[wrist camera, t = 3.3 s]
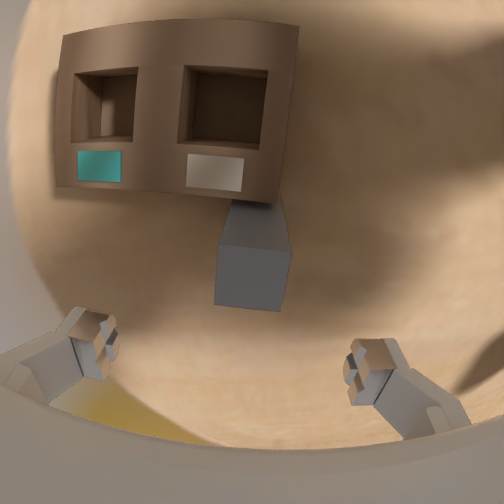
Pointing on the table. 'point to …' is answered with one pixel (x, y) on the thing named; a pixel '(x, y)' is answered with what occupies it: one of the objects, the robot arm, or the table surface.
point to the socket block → (172, 107)
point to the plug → (253, 256)
